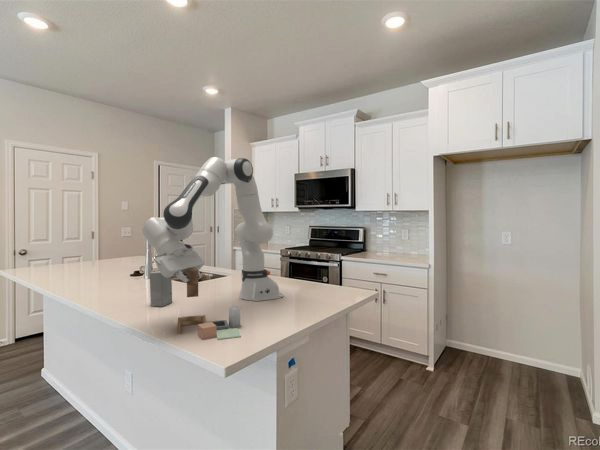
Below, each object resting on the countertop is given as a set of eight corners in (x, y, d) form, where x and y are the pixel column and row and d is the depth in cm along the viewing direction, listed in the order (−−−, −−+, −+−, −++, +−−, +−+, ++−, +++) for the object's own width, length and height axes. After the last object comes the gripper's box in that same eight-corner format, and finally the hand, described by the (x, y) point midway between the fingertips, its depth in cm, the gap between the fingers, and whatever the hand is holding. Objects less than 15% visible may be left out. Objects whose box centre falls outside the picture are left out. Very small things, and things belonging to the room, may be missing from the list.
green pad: (237, 329, 122) (237, 328, 122) (241, 337, 115) (241, 335, 115) (215, 331, 120) (215, 330, 119) (217, 339, 112) (217, 338, 112)
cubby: (204, 322, 130) (204, 314, 130) (206, 330, 120) (206, 322, 120) (178, 325, 126) (177, 317, 126) (177, 334, 117) (177, 325, 117)
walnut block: (197, 293, 125) (197, 267, 125) (198, 296, 122) (198, 269, 121) (186, 294, 124) (186, 268, 124) (186, 297, 120) (186, 270, 120)
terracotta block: (211, 332, 119) (211, 321, 119) (216, 336, 115) (216, 325, 115) (197, 335, 116) (197, 324, 116) (202, 340, 112) (202, 328, 112)
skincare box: (162, 307, 150) (162, 273, 150) (148, 306, 152) (148, 272, 151) (173, 302, 158) (173, 269, 158) (160, 301, 160) (159, 269, 159)
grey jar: (239, 323, 129) (239, 305, 128) (241, 327, 124) (241, 309, 124) (228, 324, 127) (228, 307, 127) (229, 328, 123) (229, 310, 123)
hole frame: (226, 323, 128) (226, 319, 128) (228, 330, 121) (228, 326, 121) (206, 325, 126) (206, 321, 126) (207, 332, 119) (207, 328, 119)
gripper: (156, 250, 115) (179, 279, 112) (194, 244, 134) (214, 270, 131) (146, 262, 116) (169, 291, 114) (185, 255, 136) (205, 280, 133)
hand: (193, 280), depth 122 cm, fingers closed on walnut block, 6 cm apart
